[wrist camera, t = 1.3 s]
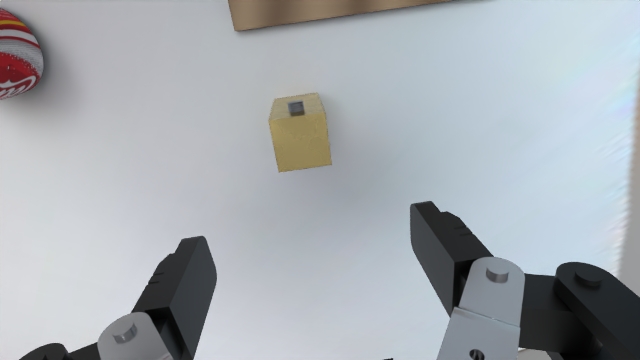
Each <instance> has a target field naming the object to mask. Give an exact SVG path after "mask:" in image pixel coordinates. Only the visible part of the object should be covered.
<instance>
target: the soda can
mask: <svg viewBox="0 0 640 360" xmlns="http://www.w3.org/2000/svg"><path fill="white" fill-rule="evenodd" d="M43 66H44V64H43V56H42V52H41V49H40V46H39V44H38V42H37V40H36V39H35V37H34V36H33V34H32V33H31V31H30V30H29V29H28V28H27V27H26V26H25V25H24V24H23V23H22V22H21V21H20V20H19V19H18V18H16V17H15V16H13V15H12V14H11V13H9V12H7V11H5V10H3V9H1V8H0V100H2V99H6V98H10V97H13V96H15V95H18V94H20V93H23V92H25V91H28V90H30V89H31V88H33V87H34V86H35V85H36V84H37V83H38V82H39V80H40V78H41V76H42V73H43Z"/></svg>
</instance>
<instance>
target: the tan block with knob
mask: <svg viewBox="0 0 640 360" xmlns="http://www.w3.org/2000/svg"><path fill="white" fill-rule="evenodd" d="M269 125H270V130H271V135H272V140H273V145H274V150H275V155H276V160H277V165H278V170H279V172H285V171H292V170H299V169H307V168H312V167H319V166H326V165H332V164H331V156H330V148H329V140H328V132H327V124H326V115H325V111H324V108H323V106H322V103H321V101H320V98H319V96H318V93H312V94H305V95H298V96H291V97H284V98H277V99H274V102H273V106H272V110H271V113H270V117H269Z"/></svg>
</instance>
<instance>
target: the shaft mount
mask: <svg viewBox="0 0 640 360" xmlns="http://www.w3.org/2000/svg"><path fill="white" fill-rule="evenodd" d="M445 1H453V0H228V3H229V8H230V12H231V17H232V21H233V26H234V30H235V31H241V30H248V29H255V28H262V27H269V26H277V25H284V24H291V23H298V22H305V21H312V20H319V19H326V18H333V17H340V16H347V15H354V14H361V13H368V12H375V11H382V10H389V9H396V8H403V7H410V6H417V5H424V4H431V3H438V2H445Z"/></svg>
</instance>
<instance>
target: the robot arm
mask: <svg viewBox="0 0 640 360" xmlns="http://www.w3.org/2000/svg"><path fill="white" fill-rule="evenodd" d="M410 231H411V244H412V248H413V251H414V253H415V255H416V257H417V259H418V261H419V262H420V264H421V266H422V268H423V270H424V271H425V273H426V275H427V277H428V279H429V280H430V282H431V284H432V286H433V288H434V290H435V291H436V293H437V295H438V297H439V299H440V300H441V302H442V304H443V306H444V308H445V309H446V311H447V313H448V315H449V317H450V321H449V324H448V327H447V330H446V333H445V336H444V339H443V342H442V345H441V348H440V351H439V354H438V357H437V360H517V354H518V347H520V348H527V349H535V350H542V351H546V352H547V354H548V355H549V356H550V357H551V359H552V360H640V297H638V296H637V295H636V294H635V293H634V292H632V291H631V290H630V289H629V288H628V287H626V286H625V285H624V284H623V283H621V282H620V281H619V280H618V279H617V278H615V277H614V276H613V275H612V274H610V273H609V272H607V271H605V270H603V269H601V268H599V267H597V266H594V265H590V264H586V263H581V262H568V263H564V264H561V265H560V266H559V267H558V268H557V270H556V274H555V276H547V275H534V274H525V273H523V271H522V270H521V269H520V267H518V266H517V265H516V264H514V263H512V262H510V261H508V260H506V259H502V258H498V257H494V256H493V255H492V254H491V253H490V252H489V251H488V249H487V248H486V247H485V246H484V245H483V244H482V243H481V242H480V241H479V239H478V238H477V237H476V236H475V235H474V234H472V232H471V230H470V229H469V228H467V227H466V225H465V224H464V223H463V222H462V220H461V219H460V218H459V217H457V216H455V215H453V214H451V213H449V212H440V211H439V209H438V208H437V207H436V206H435V205H434V203H433V202H432V201H427V202H421V203H414V204H411V206H410ZM216 281H217V273H216V267H215V264H214V261H213V258H212V255H211V253H210V250H209V247H208V244H207V241H206V239H205V237H204V236H198V237H191V238H185V239H182V240H181V242H180V244H179V246H178V247H177V249H176V251H175V253H173V254H169V255H168V256H167V257H166V258H165V259H164V260H163V261H161V262H160V263H159V265H158V266H157V268H156V270H155V272H154V273H153V276H152V277H151V279H150V280H149V282H148V285H147V286H146V287H145V289H144V291H143V293H142V294H141V296H140V298H139V300H138V301H137V303H136V305H135V307H134V308H133V310H132V312H131V313H130V314H127V315H125V316H123V317H121V318H119V319H117V320H116V321H114V322H113V323H111V324H110V325H109V326H108V327H107V328H106V329H105V330H104V331H103V332H102V334H101V335H100V337H99V339H98V342H96V343H94V344H91V345H89V346H86V347H84V348H81V349H78V350H76V351H73V352H71V353H68V351H67V350H66V348H65V347H64V345H62V344H60V343H51V344H47V345H44V346H41V347H39V348H37V349H35V350H33V351H31V352H29V353H28V354H26V355H25V356H23V357H22V358H21V359H19V360H193V359H194V356H195V352H196V349H197V346H198V342H199V339H200V336H201V332H202V329H203V326H204V323H205V319H206V316H207V313H208V309H209V306H210V303H211V299H212V296H213V293H214V289H215V286H216ZM384 360H393V358H391V359H384Z"/></svg>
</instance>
